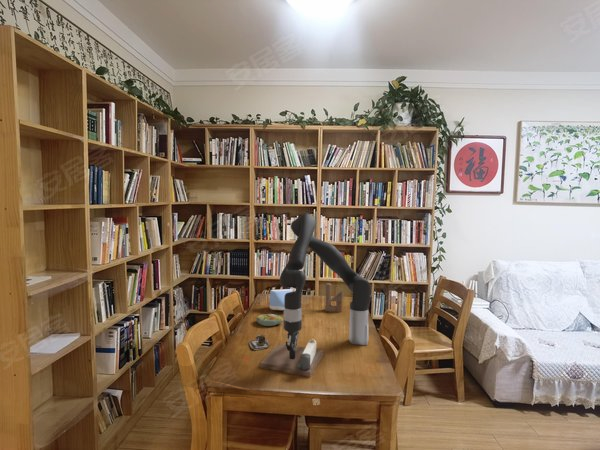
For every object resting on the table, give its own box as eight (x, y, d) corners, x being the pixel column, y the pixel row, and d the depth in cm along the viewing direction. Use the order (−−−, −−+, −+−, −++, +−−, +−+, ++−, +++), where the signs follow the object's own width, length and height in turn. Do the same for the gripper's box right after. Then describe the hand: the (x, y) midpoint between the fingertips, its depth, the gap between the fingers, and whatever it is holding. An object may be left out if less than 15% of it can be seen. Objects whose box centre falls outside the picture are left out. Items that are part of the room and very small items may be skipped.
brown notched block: (341, 312, 201) (342, 285, 200) (325, 311, 202) (325, 284, 201) (341, 310, 204) (342, 283, 203) (325, 310, 206) (325, 283, 205)
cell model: (259, 315, 187) (282, 307, 184) (263, 328, 185) (286, 320, 182) (251, 318, 177) (275, 310, 173) (255, 331, 175) (279, 324, 172)
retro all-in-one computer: (261, 307, 211) (261, 287, 210) (288, 305, 216) (289, 285, 216) (267, 317, 191) (267, 295, 191) (296, 314, 197) (297, 293, 196)
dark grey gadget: (258, 334, 162) (273, 331, 156) (260, 347, 160) (276, 344, 154) (241, 339, 152) (256, 335, 146) (243, 353, 150) (259, 350, 145)
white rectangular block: (308, 350, 143) (308, 337, 142) (317, 351, 142) (317, 338, 141) (299, 369, 125) (299, 354, 125) (309, 370, 124) (309, 356, 124)
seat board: (323, 354, 143) (323, 350, 143) (310, 377, 124) (310, 371, 124) (278, 347, 150) (278, 343, 150) (260, 367, 131) (260, 362, 131)
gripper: (288, 311, 137) (288, 350, 138) (279, 322, 125) (279, 364, 126) (304, 313, 136) (304, 352, 137) (297, 324, 123) (297, 367, 124)
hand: (292, 358), depth 131 cm, fingers closed
